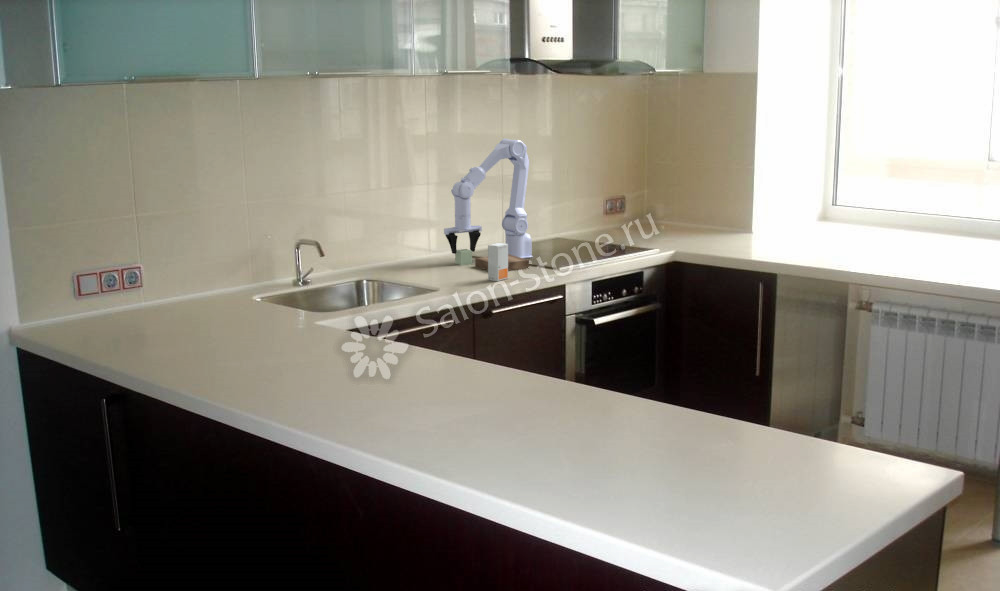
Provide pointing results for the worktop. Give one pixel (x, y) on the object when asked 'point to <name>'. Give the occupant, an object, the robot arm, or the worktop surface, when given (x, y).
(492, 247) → the skincare box
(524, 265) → the walnut base
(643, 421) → the worktop surface
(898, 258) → the worktop surface
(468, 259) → the sage block
